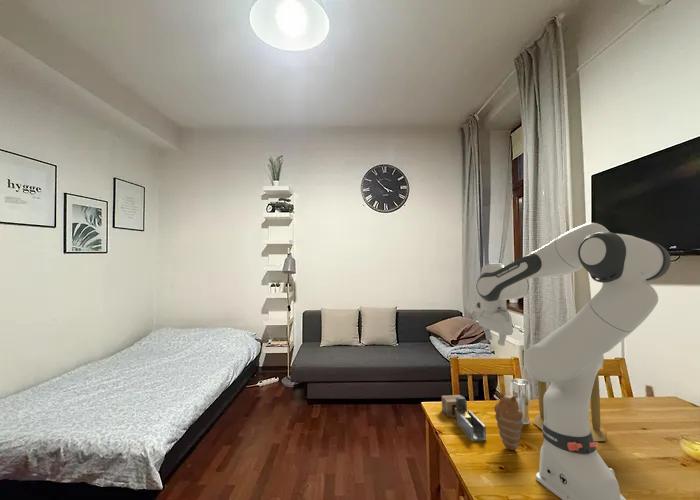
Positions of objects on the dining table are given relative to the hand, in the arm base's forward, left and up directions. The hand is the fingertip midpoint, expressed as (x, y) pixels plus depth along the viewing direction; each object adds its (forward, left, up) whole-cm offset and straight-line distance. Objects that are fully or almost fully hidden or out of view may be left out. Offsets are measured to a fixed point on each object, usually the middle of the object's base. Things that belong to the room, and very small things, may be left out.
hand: (494, 342), depth 130 cm
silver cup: (+3, -11, -31) cm, 33 cm away
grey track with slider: (-4, +12, -31) cm, 33 cm away
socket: (+12, +12, -31) cm, 35 cm away
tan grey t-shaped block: (+6, +12, -30) cm, 33 cm away
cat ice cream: (-16, +4, -31) cm, 35 cm away
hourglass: (-4, -25, -31) cm, 40 cm away
